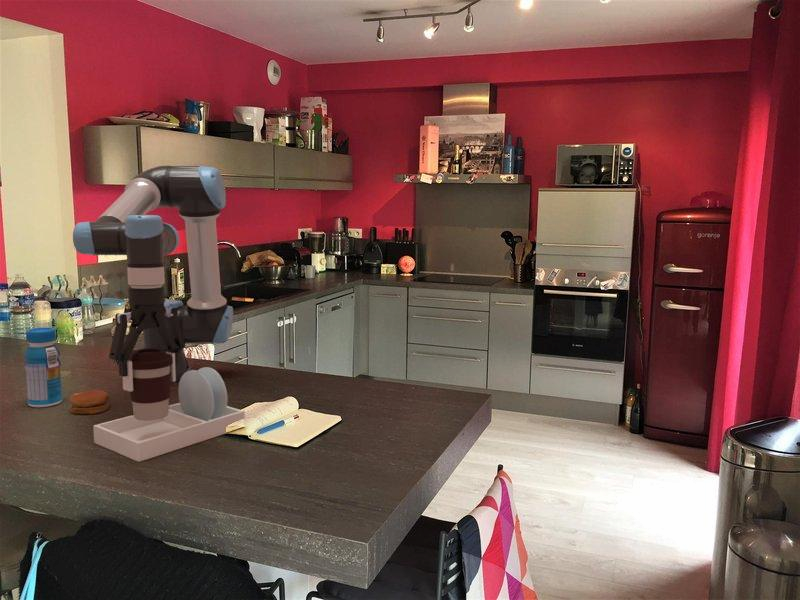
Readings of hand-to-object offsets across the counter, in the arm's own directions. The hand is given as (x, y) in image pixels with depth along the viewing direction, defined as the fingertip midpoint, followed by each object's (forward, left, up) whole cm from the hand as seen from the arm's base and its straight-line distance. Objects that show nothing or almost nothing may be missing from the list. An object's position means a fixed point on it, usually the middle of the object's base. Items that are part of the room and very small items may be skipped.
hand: (150, 385), depth 146 cm
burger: (-3, -33, -13) cm, 36 cm away
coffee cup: (0, 0, -7) cm, 7 cm away
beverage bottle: (+2, -47, -13) cm, 48 cm away
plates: (-14, 0, -12) cm, 18 cm away
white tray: (-5, 0, -13) cm, 14 cm away
